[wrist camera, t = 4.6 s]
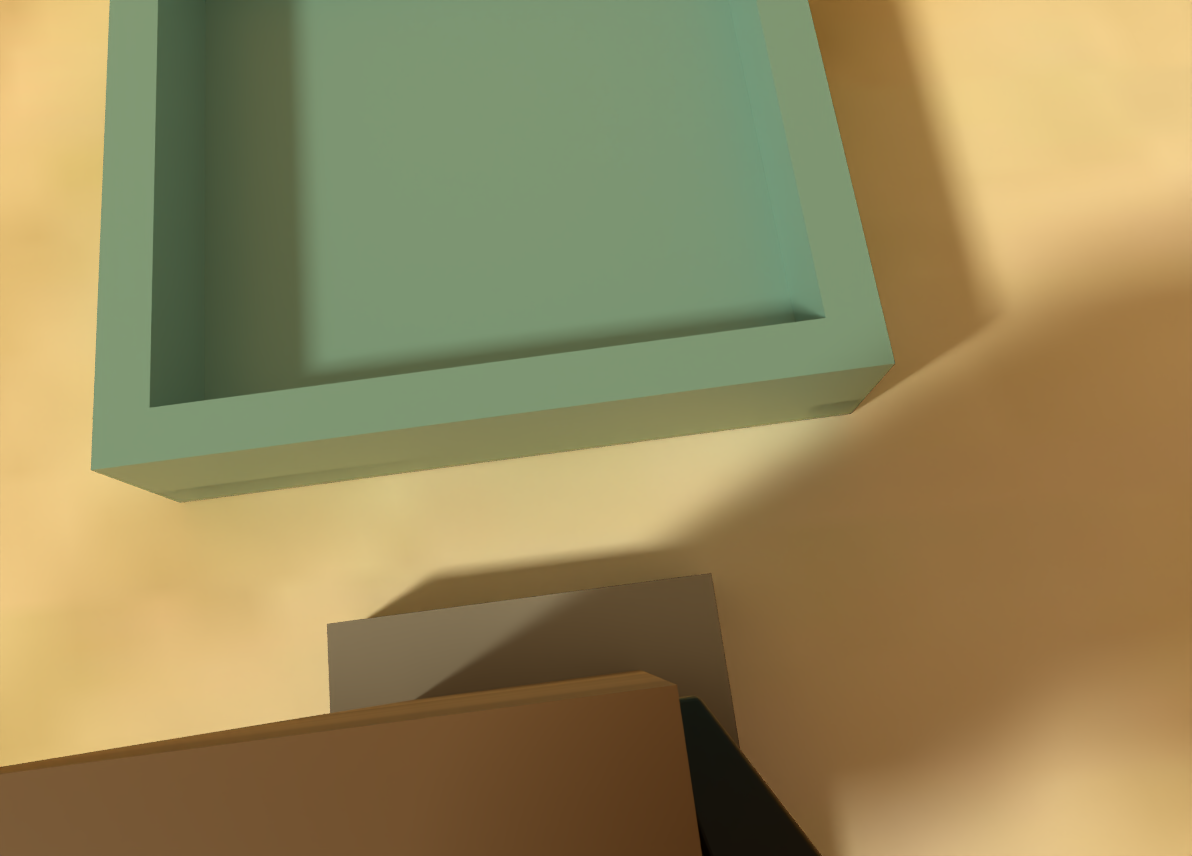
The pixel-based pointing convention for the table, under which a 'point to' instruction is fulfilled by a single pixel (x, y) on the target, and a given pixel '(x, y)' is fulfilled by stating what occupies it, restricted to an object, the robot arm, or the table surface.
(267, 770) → the handle post
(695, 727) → the robot arm
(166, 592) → the table surface
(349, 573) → the table surface
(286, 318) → the tray
